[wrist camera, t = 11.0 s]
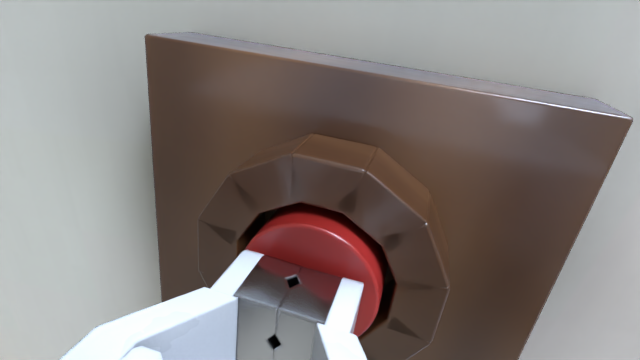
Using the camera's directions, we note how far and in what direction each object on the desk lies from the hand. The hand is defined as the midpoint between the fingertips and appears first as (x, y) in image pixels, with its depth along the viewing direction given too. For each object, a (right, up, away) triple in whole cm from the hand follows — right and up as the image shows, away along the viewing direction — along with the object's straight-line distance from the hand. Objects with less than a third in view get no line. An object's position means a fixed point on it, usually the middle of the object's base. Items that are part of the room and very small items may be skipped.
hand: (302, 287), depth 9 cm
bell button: (+1, +1, +2) cm, 2 cm away
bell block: (+1, +2, +4) cm, 4 cm away
